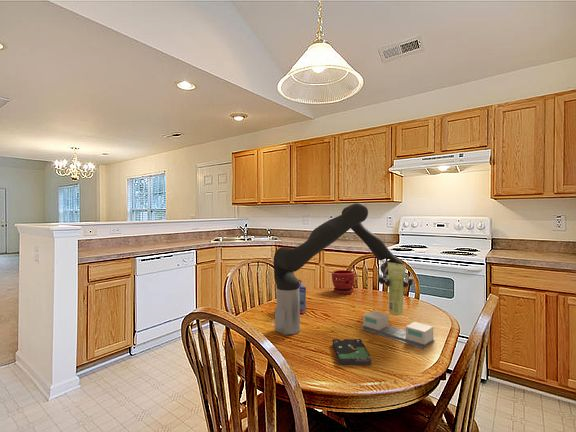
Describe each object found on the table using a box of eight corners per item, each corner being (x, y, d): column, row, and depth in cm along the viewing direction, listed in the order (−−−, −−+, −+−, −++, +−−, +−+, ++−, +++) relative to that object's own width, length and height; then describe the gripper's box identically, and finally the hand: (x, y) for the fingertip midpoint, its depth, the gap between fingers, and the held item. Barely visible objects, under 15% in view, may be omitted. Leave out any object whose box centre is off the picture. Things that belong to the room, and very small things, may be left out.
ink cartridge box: (306, 313, 147) (306, 282, 147) (295, 314, 146) (294, 283, 145) (300, 306, 157) (299, 277, 156) (289, 307, 155) (289, 278, 155)
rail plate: (422, 349, 109) (422, 346, 109) (361, 329, 127) (361, 326, 127) (435, 340, 116) (435, 337, 116) (375, 322, 134) (375, 320, 134)
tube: (402, 311, 124) (402, 262, 123) (406, 316, 119) (406, 264, 118) (387, 311, 124) (387, 262, 124) (390, 315, 119) (390, 264, 119)
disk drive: (332, 346, 113) (338, 367, 98) (331, 338, 113) (338, 358, 98) (360, 346, 113) (372, 366, 98) (360, 338, 113) (372, 357, 98)
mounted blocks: (424, 344, 110) (424, 332, 110) (363, 325, 128) (363, 314, 128) (433, 338, 115) (433, 326, 115) (372, 321, 133) (372, 310, 133)
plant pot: (358, 290, 185) (357, 270, 185) (349, 296, 174) (349, 274, 174) (337, 288, 192) (337, 268, 192) (328, 293, 181) (328, 272, 181)
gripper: (376, 265, 137) (376, 273, 120) (411, 266, 133) (417, 275, 116) (376, 282, 137) (377, 293, 121) (411, 284, 133) (417, 295, 117)
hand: (396, 284), depth 119 cm, fingers closed on tube, 5 cm apart
